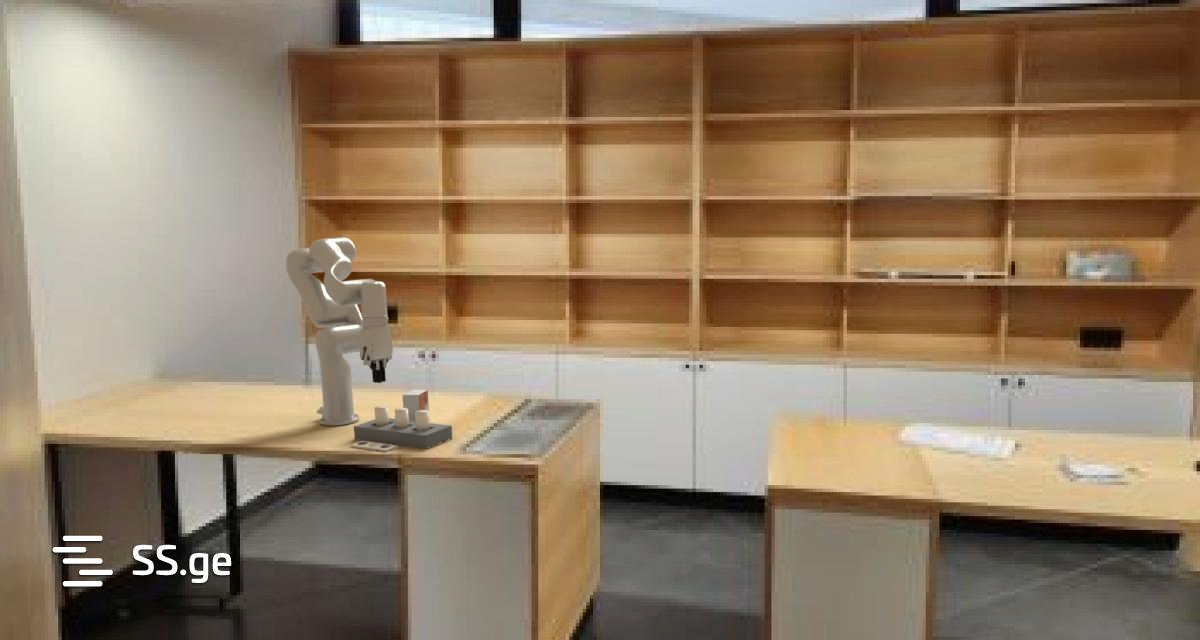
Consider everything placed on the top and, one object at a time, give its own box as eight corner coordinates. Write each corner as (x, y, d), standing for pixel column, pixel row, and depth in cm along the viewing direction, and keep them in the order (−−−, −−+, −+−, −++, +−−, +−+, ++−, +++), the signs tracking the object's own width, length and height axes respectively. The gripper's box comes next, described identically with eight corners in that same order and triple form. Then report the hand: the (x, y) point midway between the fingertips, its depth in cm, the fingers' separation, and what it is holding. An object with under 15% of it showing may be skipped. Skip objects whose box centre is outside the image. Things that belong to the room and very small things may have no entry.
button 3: (413, 434, 276) (412, 412, 275) (422, 431, 279) (421, 409, 278) (424, 435, 274) (422, 413, 273) (432, 432, 277) (431, 410, 276)
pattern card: (350, 446, 274) (350, 444, 274) (362, 442, 278) (362, 439, 278) (386, 451, 267) (386, 449, 267) (398, 447, 272) (397, 444, 271)
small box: (420, 427, 294) (418, 395, 293) (404, 427, 295) (401, 394, 294) (430, 421, 302) (428, 389, 300) (414, 420, 303) (412, 389, 302)
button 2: (393, 431, 280) (391, 410, 279) (402, 428, 283) (400, 407, 282) (403, 433, 278) (401, 411, 277) (412, 429, 281) (410, 408, 280)
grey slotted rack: (354, 439, 283) (353, 426, 282) (381, 429, 293) (380, 417, 292) (426, 448, 269) (425, 435, 268) (452, 438, 279) (451, 425, 279)
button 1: (373, 429, 284) (371, 407, 283) (382, 426, 287) (380, 405, 286) (383, 430, 282) (381, 409, 281) (392, 427, 285) (390, 406, 284)
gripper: (383, 318, 288) (387, 376, 291) (347, 325, 275) (352, 386, 278) (401, 319, 285) (405, 378, 287) (366, 326, 271) (371, 388, 274)
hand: (379, 381), depth 282 cm, fingers closed
